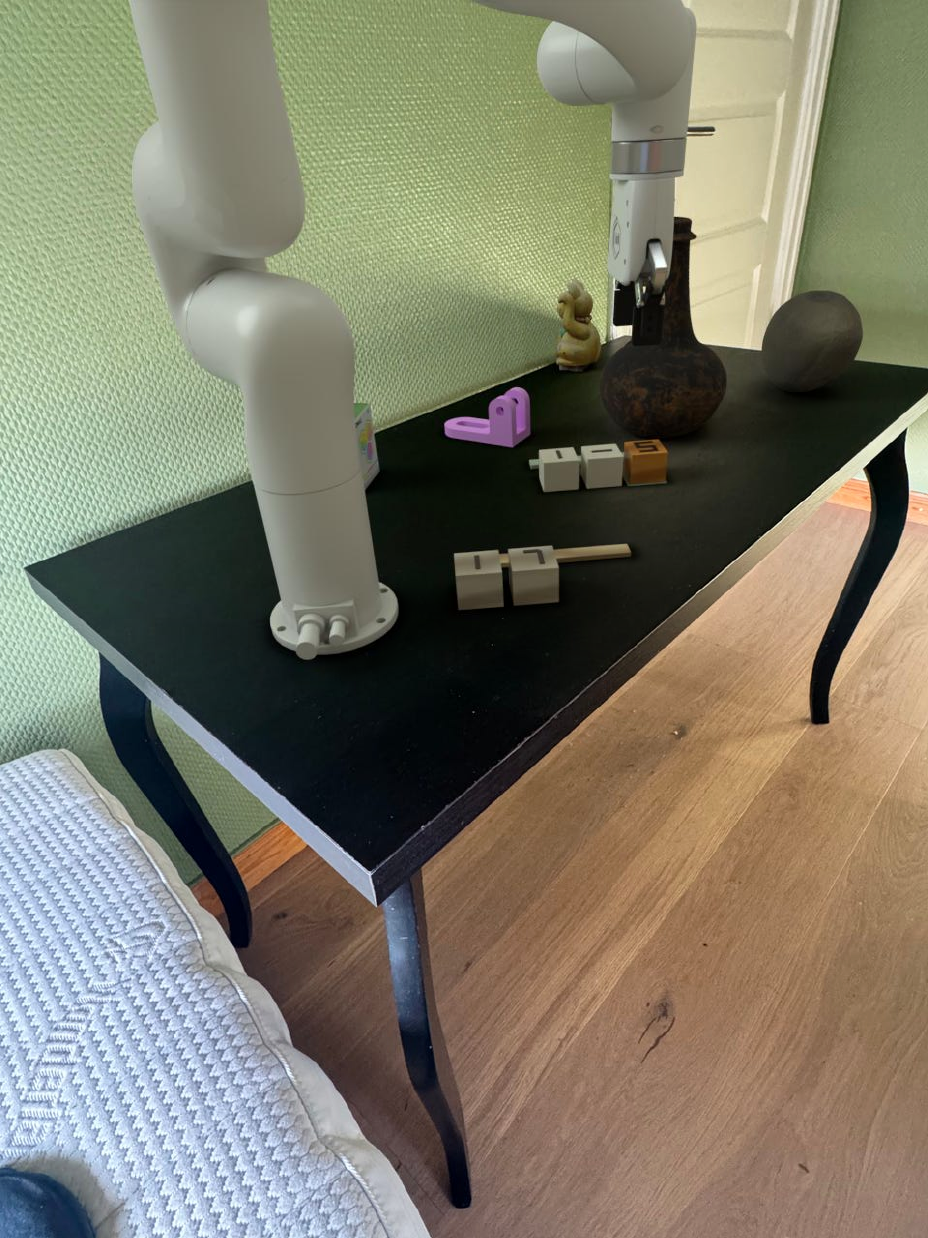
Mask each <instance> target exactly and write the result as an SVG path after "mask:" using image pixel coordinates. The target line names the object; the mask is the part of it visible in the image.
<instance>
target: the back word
mask: <svg viewBox="0 0 928 1238" xmlns="http://www.w3.org/2000/svg"><path fill="white" fill-rule="evenodd" d="M623 463H624V451H621V450H620V449H619V446H618V445H617V443H606V444H605V443H604V444H595V445H594V444H593V445H583V446H581V447H580V455H578V454H577V453H576V450H575V448H574V446H571V447H558V448H547V449H539V450H538V458H537V459H535V458H533V459H529V460H528V465H529V468H530V470H538V473H539V474H538V475H539V476H538V477H539V482H540V485H541V487H542V491H543V492H544V493H551V492H552V493H553V492H563V491H576V490H579V489H580V476H581V479H582V481H583V483H584V486H585V488H586V489H587V490H589V489H603V488H611V487H612V488H613V487H614V488H615V487H622V486H623V481H624V482H625V483H626V486H627V487H637V486H649V485H661V484H663V485H664V484H667V483H668V482H667V480H666V481H665V482H655V483H643V484H630V482H629V480H628V479H627V477H626V475H625V473H624V472H623Z"/></svg>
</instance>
